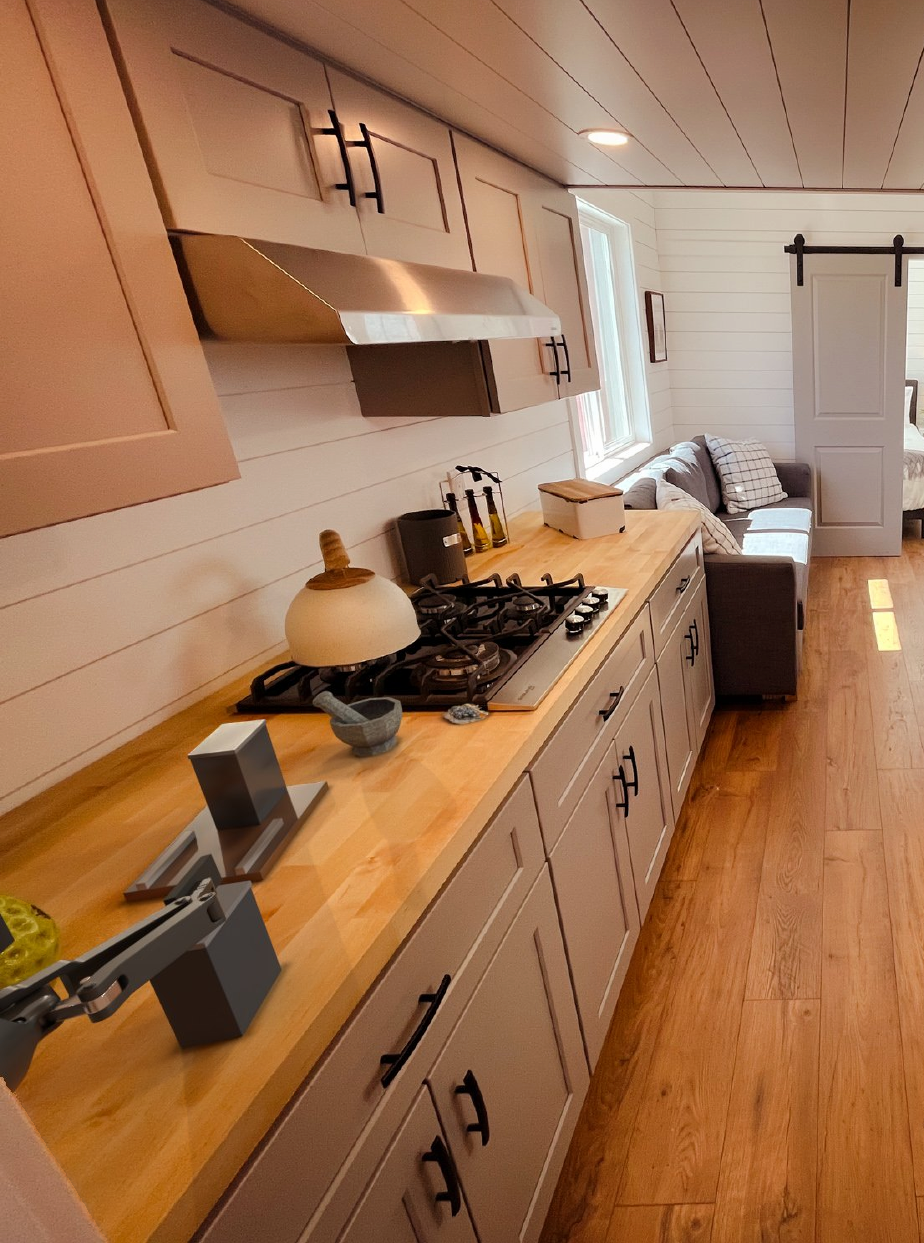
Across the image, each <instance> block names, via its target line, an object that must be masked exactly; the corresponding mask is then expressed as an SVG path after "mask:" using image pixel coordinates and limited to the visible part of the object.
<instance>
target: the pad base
mask: <svg viewBox="0 0 924 1243" xmlns="http://www.w3.org/2000/svg"><path fill="white" fill-rule="evenodd" d="M276 754H277V753H276V751H275V747H274V745H273V741H272V739H271V736H270V733H269V730H268V727H267V720H266V719H256V720H248V721H247V720H246V721H240V722H229V723H228V722H227V723H221V725H219V726H218V727H217V728H216V729H215V730H214V731H212V732H211V733H210V735H208V736H207V737H206V738H204V740H202V741H201V743H199V744H198V745H197V746H196V747H195V748H193V749H192V750H191V751H190V752H189V753H188V754H187V755H186V757H187V759H188V760H189V761H190V763H191V766H192V768H193V771H194V774H195V776H196V780H197V782H198V784H199V786H200V790H201V792H202V795H203V798H204V800H205V802H206V806H205V807H204V808H203V809H202V810H201V811H200V812H199V813H198V814H197V815H196V816H195V817H194V818H193V819H192V820H191V821H190V823H188V824H187V826H185V827H184V829H183V830H182V831H181V832H180V833H179V834H178V835H177V836H176V837H175V838H174V839H173V840H172V841H171V843H170V844H169V845H168V846H167V847H166V848H165V849H164V850H163V851H162V852H161V853H160V854H159V855H158V856H157V857H156V858H155V859H154V860H153V862H151V863H150V864H149V865H148V866H147V868H145V870H144V871H143V872H142V873H141V874H140V875H139V876H138V877H137V878H136V879H135V880H134V881H133V882H132V883H131V884H130V886H129V887H128V888H126V890H125V891H123V893H122V894H123V897H124V899H125V901H126V903H132V902H137V901H144V900H151V899H156V898H163V897H164V898H165V897H167V896H168V894H169V893H170V892H171V891H172V890H173V889H174V887H175V886H176V885H177V884H178V883H179V881H180V880H181V879H182V878H183V877H184V876H185V874H186V873H187V872H188V871H189V870H190V869H191V867H192V866H193V865H194V864H195V863H196V862H197V860H198V859H199V858H200V857H201V856H205V855H209V854H212V856H213V859H214V861H215V863H216V866H217V868H218V870H219V873H220V875H221V877H222V879H223V880H222V882H221V883H220V884H219V885H225V884H232V883H238V882H244V881H251V883H258V882H263V881H265V879H266V878H267V877H268V875H269V873H270V872H271V871H272V870H273V868H274V867H275V865H276V864H277V862H278V861H279V860H280V859H281V857H282V855H283V854H284V852H285V851H286V850H287V849H288V847H289V846H290V844H291V843H292V842H293V840H294V839H295V837H296V836H297V835H298V833H299V832H300V830H301V829H302V828H303V826H304V824H306V822H307V821H308V819H309V817H311V815H312V813H313V812H314V811H315V809H316V808H317V806H319V804H320V802H321V801H322V799H323V798H324V797H325V795H326V794H327V793H328V791H329V789H330V787H329V783H328V781H327V780H324V781H316V782H308V783H299V784H294V785H286V782H285V778H284V776H283V772H282V770H281V766H280V763H279V760H278V757H277V755H276Z"/></svg>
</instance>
